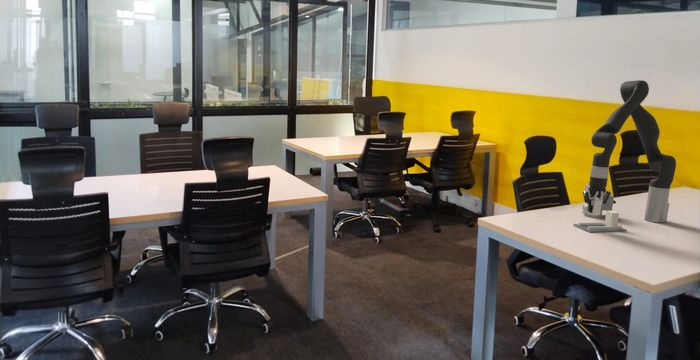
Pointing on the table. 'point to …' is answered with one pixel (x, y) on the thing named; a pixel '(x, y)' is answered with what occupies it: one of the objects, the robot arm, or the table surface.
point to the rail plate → (603, 224)
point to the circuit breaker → (605, 207)
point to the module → (596, 207)
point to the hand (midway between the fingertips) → (594, 212)
